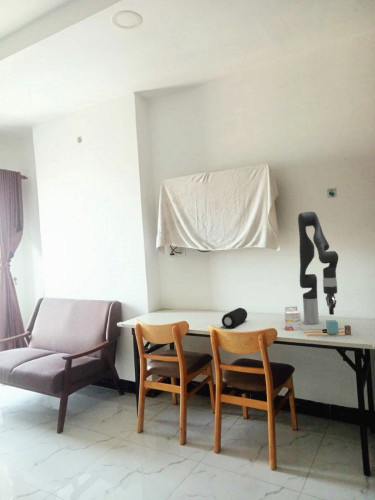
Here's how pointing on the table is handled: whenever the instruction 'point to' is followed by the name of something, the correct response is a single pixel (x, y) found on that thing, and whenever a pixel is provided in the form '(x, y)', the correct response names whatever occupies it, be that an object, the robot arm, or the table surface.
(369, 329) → the table surface
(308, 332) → the oak board
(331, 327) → the aqua square block
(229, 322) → the portable speaker
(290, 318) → the ink cartridge box
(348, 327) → the walnut post
